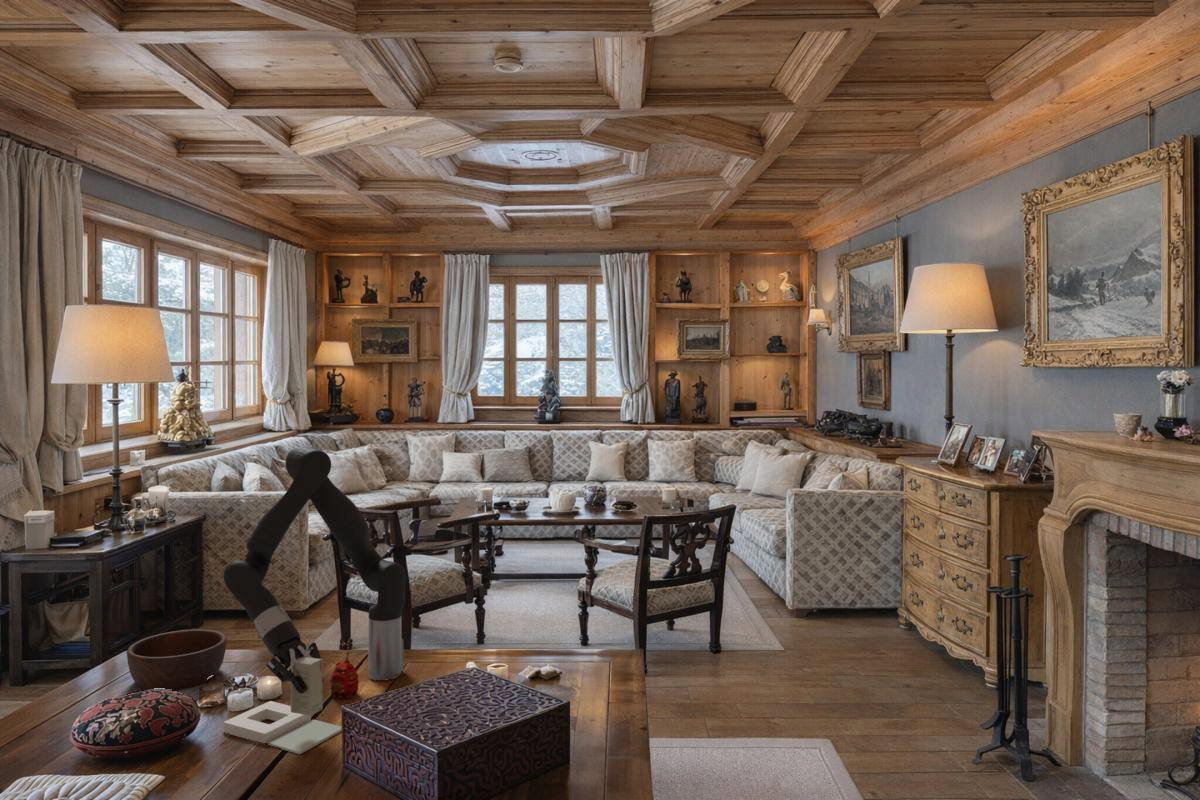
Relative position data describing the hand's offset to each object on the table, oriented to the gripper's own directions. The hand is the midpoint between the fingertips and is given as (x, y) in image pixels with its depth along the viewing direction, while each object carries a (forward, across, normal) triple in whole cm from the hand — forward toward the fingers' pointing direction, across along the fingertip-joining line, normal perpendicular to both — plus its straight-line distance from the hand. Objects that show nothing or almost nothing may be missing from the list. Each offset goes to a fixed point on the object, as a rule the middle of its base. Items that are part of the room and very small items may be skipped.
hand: (312, 687), depth 183 cm
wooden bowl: (-35, +11, +54) cm, 65 cm away
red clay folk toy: (+1, +23, +17) cm, 29 cm away
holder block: (-2, 0, +19) cm, 19 cm away
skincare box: (+3, 0, +6) cm, 6 cm away
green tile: (+8, 0, +10) cm, 12 cm away
